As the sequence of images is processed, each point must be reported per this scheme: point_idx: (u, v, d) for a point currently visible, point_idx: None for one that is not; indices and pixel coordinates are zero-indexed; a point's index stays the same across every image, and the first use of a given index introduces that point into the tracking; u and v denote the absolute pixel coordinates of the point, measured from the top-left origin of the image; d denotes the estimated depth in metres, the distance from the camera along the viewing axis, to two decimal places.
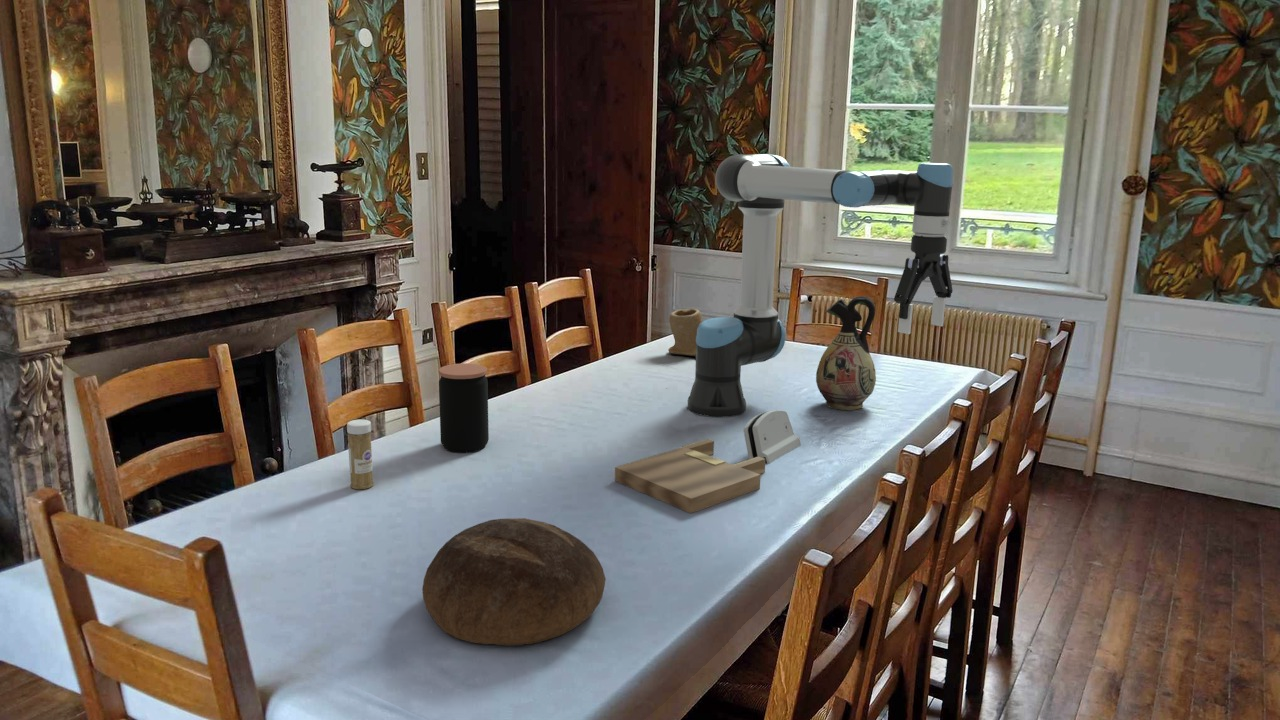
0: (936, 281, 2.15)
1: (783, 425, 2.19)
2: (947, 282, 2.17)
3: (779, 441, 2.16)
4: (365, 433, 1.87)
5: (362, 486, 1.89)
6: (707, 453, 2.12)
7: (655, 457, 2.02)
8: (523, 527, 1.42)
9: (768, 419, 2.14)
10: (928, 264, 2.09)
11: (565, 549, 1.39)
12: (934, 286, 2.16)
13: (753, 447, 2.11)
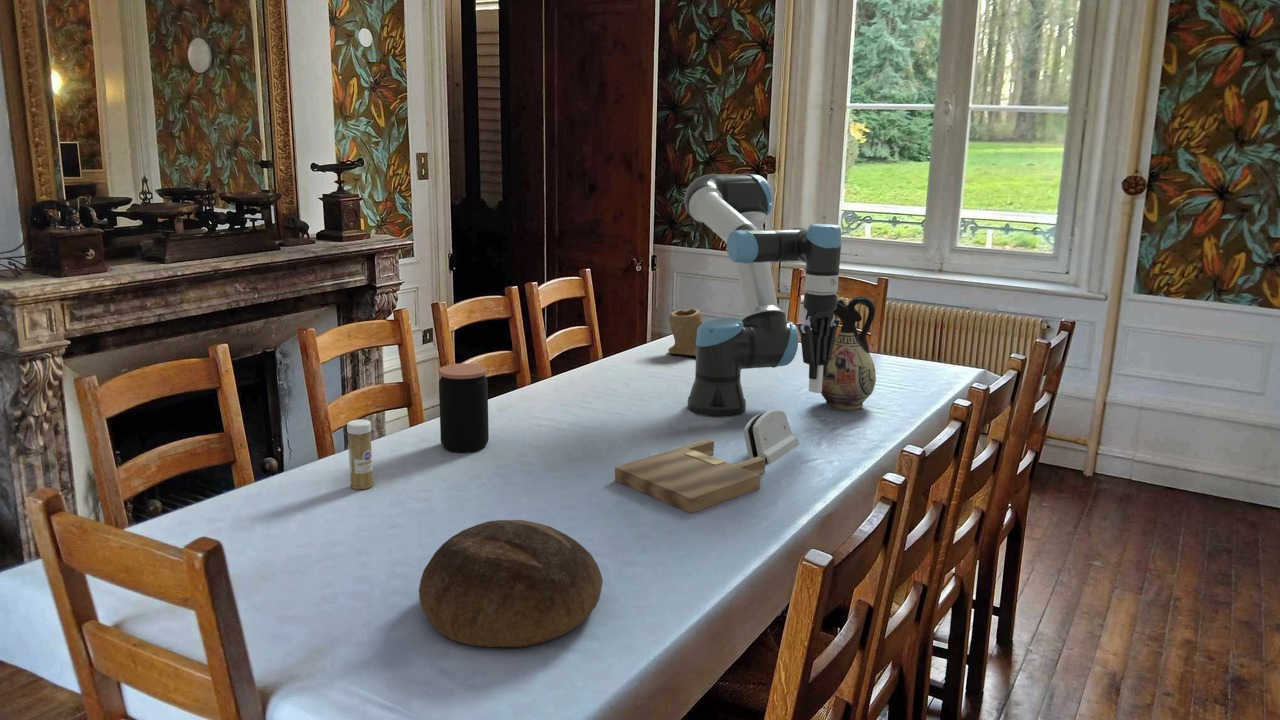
0: (821, 341, 2.21)
1: (782, 425, 2.19)
2: (829, 346, 2.23)
3: (778, 441, 2.16)
4: (365, 433, 1.87)
5: (362, 486, 1.89)
6: (707, 453, 2.12)
7: (655, 457, 2.02)
8: (520, 529, 1.41)
9: (768, 420, 2.14)
10: (819, 323, 2.18)
11: (562, 551, 1.39)
12: None
13: (753, 448, 2.10)
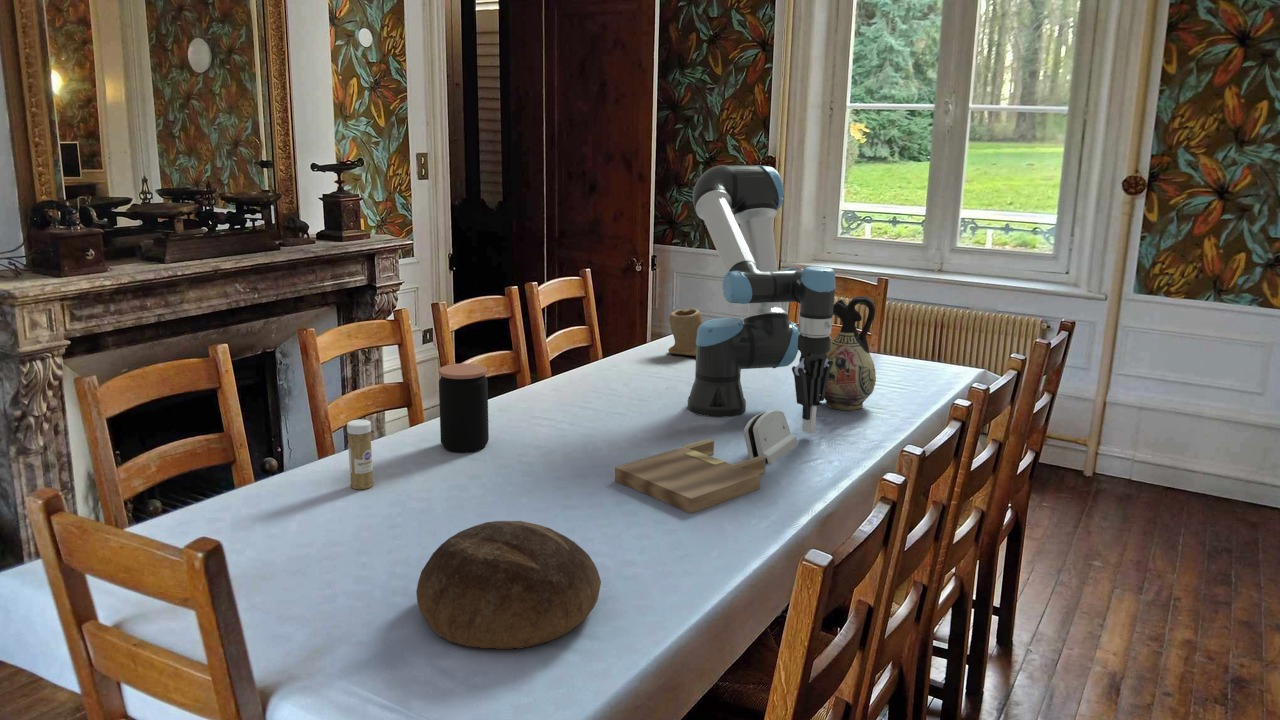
0: (814, 382, 2.23)
1: (781, 425, 2.18)
2: (823, 386, 2.24)
3: (778, 441, 2.16)
4: (365, 433, 1.87)
5: (362, 486, 1.89)
6: (707, 453, 2.12)
7: (655, 457, 2.02)
8: (518, 530, 1.41)
9: (767, 420, 2.14)
10: (813, 365, 2.19)
11: (560, 552, 1.38)
12: None
13: (754, 448, 2.10)
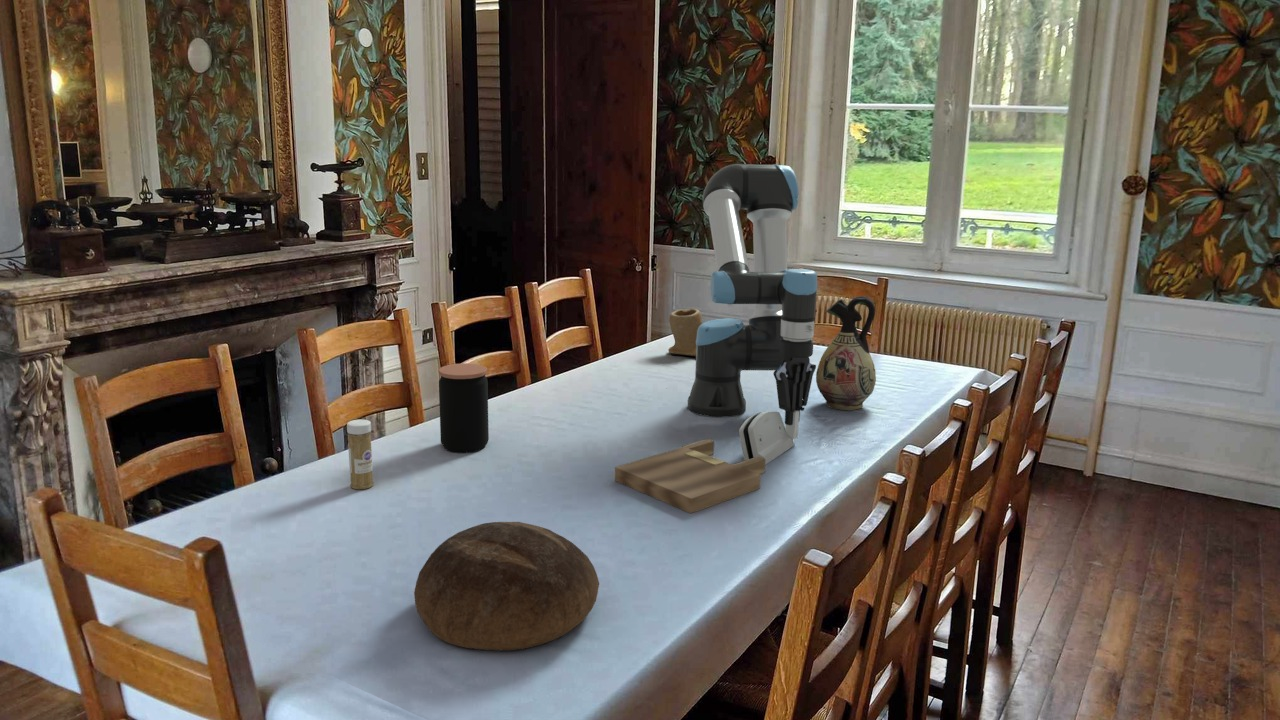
0: (797, 387, 2.19)
1: (777, 426, 2.18)
2: (806, 391, 2.20)
3: (773, 442, 2.15)
4: (365, 433, 1.87)
5: (362, 486, 1.89)
6: (707, 453, 2.12)
7: (655, 457, 2.02)
8: (516, 531, 1.40)
9: (763, 420, 2.13)
10: (795, 369, 2.15)
11: (558, 554, 1.38)
12: None
13: (749, 448, 2.09)
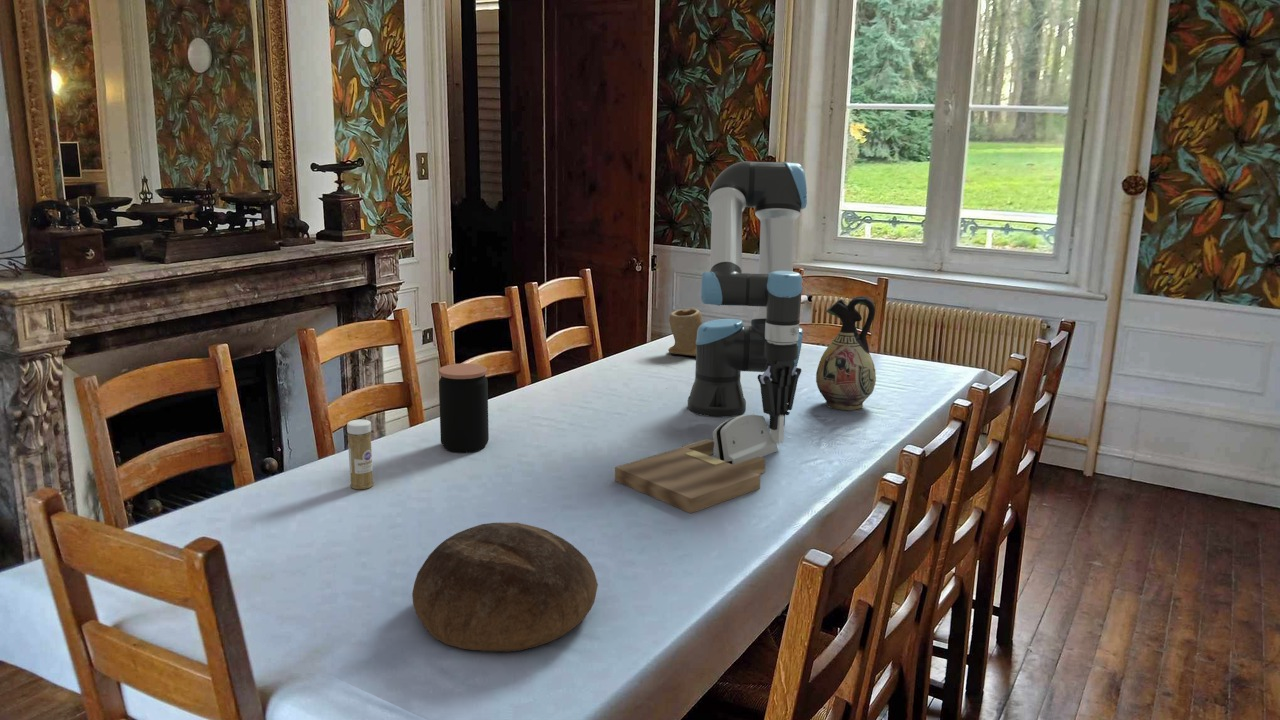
0: (781, 391, 2.15)
1: (758, 430, 2.15)
2: (791, 395, 2.16)
3: (751, 446, 2.12)
4: (365, 433, 1.87)
5: (362, 486, 1.89)
6: (707, 453, 2.12)
7: (655, 457, 2.02)
8: (514, 532, 1.40)
9: (740, 423, 2.11)
10: (779, 373, 2.11)
11: (557, 555, 1.38)
12: None
13: (721, 450, 2.08)
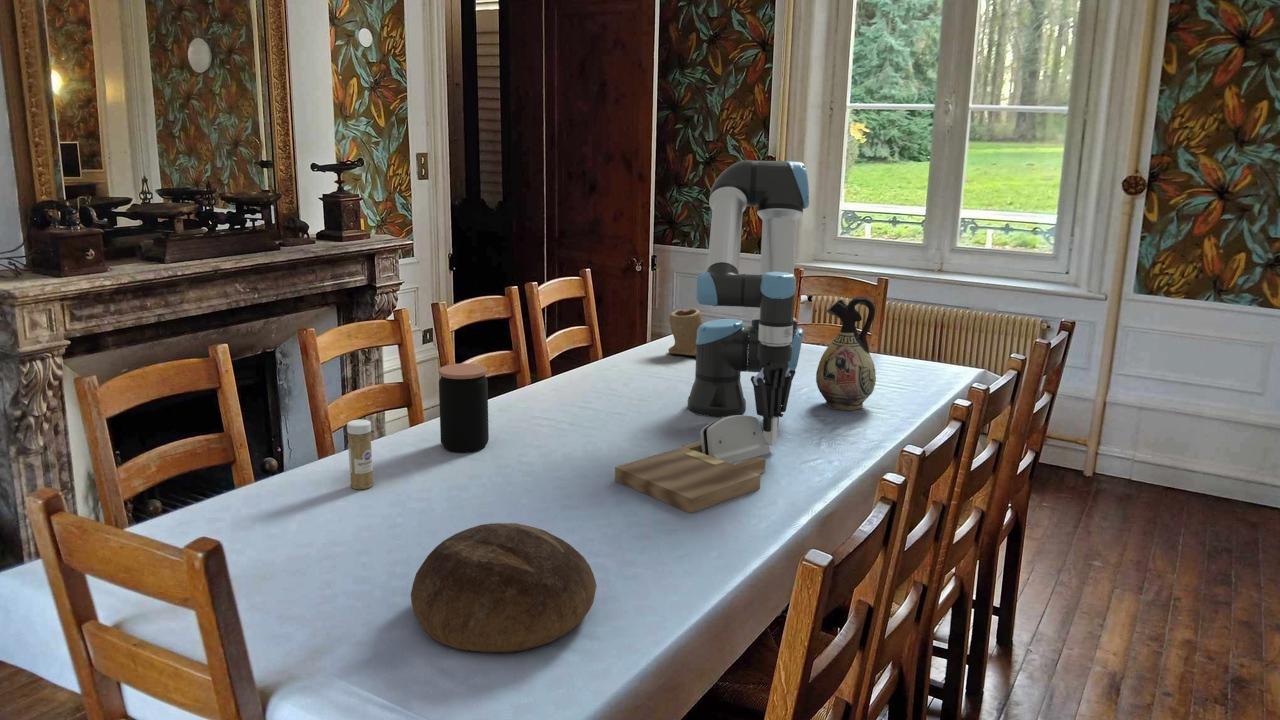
0: (775, 392, 2.14)
1: (750, 431, 2.14)
2: (784, 397, 2.15)
3: (741, 446, 2.12)
4: (365, 433, 1.87)
5: (362, 486, 1.89)
6: None
7: (655, 457, 2.02)
8: (513, 532, 1.40)
9: (729, 423, 2.11)
10: (773, 374, 2.10)
11: (555, 555, 1.37)
12: None
13: (707, 449, 2.09)
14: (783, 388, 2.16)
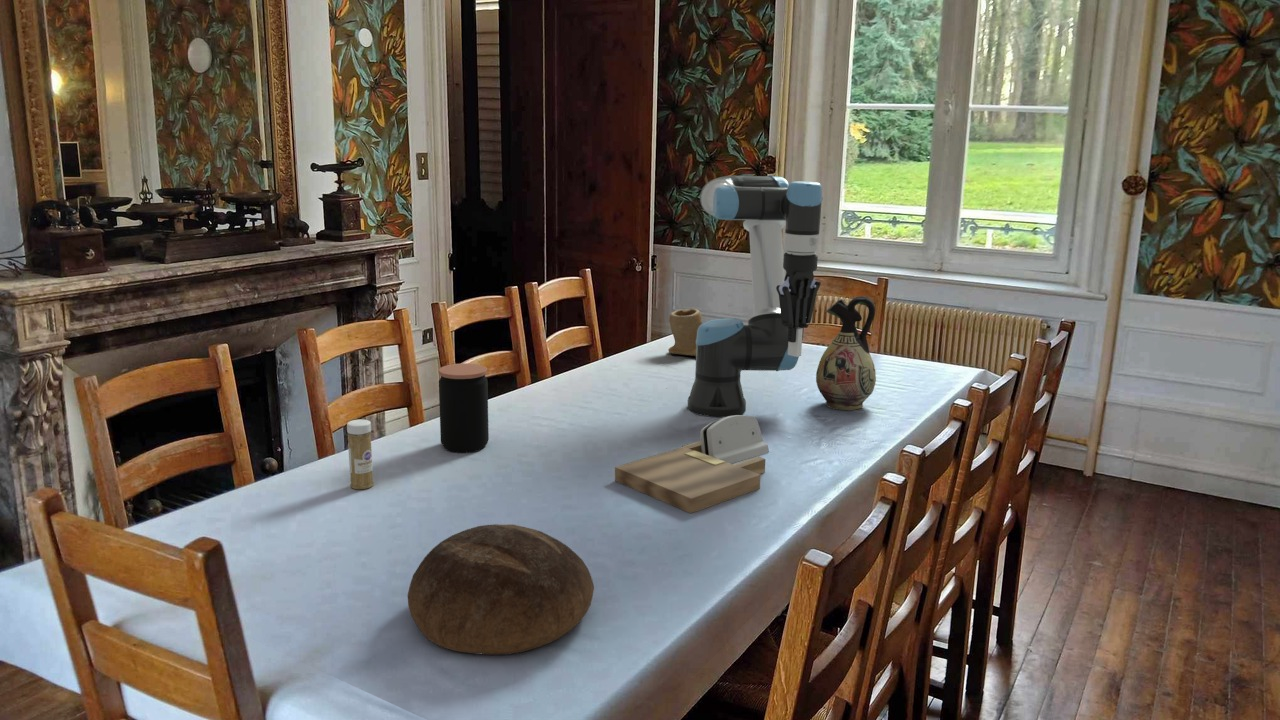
0: (800, 303, 2.15)
1: (749, 431, 2.14)
2: (810, 308, 2.16)
3: (740, 446, 2.12)
4: (365, 433, 1.87)
5: (362, 486, 1.89)
6: None
7: (655, 457, 2.02)
8: (510, 534, 1.39)
9: (728, 423, 2.11)
10: (798, 284, 2.11)
11: (552, 557, 1.37)
12: None
13: (707, 450, 2.08)
14: (808, 299, 2.17)
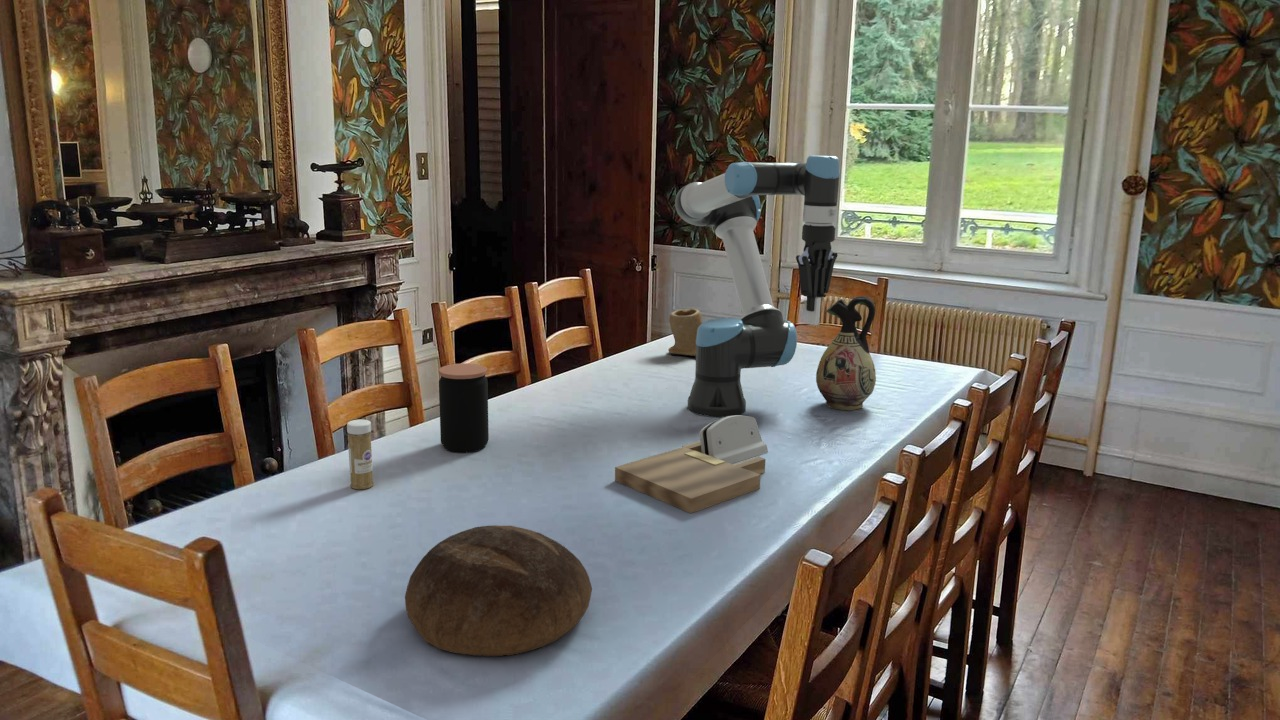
0: (818, 273, 2.23)
1: (748, 431, 2.14)
2: (827, 278, 2.24)
3: (739, 446, 2.12)
4: (365, 433, 1.87)
5: (362, 486, 1.89)
6: None
7: (655, 457, 2.02)
8: (507, 535, 1.39)
9: (728, 423, 2.10)
10: (817, 254, 2.19)
11: (550, 558, 1.36)
12: None
13: (707, 450, 2.08)
14: (826, 270, 2.25)
